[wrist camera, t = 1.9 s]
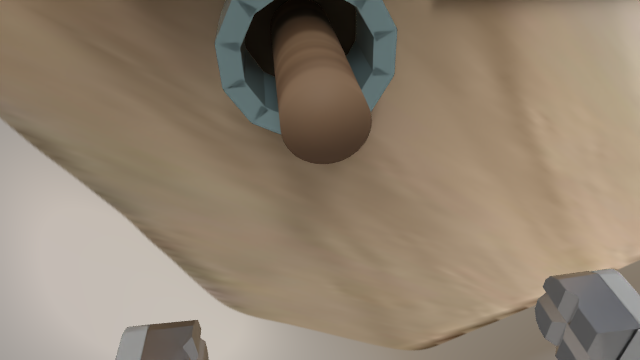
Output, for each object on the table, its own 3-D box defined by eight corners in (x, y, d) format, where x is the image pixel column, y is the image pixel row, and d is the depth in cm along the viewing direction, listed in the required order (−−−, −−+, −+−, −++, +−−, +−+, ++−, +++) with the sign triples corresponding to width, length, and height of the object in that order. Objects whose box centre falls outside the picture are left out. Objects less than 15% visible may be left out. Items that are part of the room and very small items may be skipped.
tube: (209, -51, 24) (201, -31, 20) (377, -61, 25) (402, -44, 21) (235, 104, 30) (232, 144, 26) (372, 92, 30) (390, 129, 26)
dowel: (267, 0, 26) (276, 87, 16) (329, -4, 26) (373, 78, 17) (273, 60, 28) (284, 168, 19) (330, 55, 28) (370, 159, 19)
